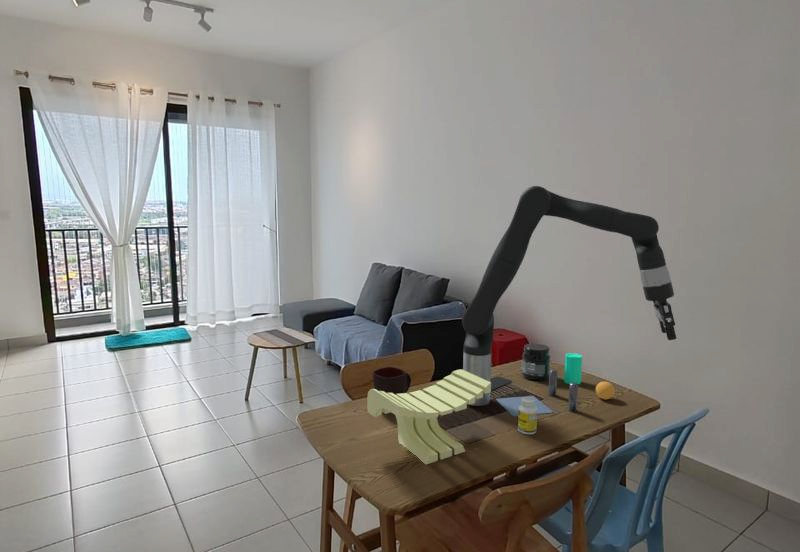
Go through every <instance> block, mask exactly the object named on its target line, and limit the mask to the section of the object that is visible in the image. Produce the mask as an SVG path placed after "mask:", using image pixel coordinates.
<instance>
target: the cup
mask: <svg viewBox="0 0 800 552" xmlns="http://www.w3.org/2000/svg"><path fill="white" fill-rule="evenodd" d="M372 383H373V389H376V390H378V391H384V392H386V393H393V394H395V395H396V394H402V393H407V394H408V391H409V389H410V387H411V383H412V378H411V375H410V374H409V373H408V372H406V370H403V369H402V368H398V367H394V366H386V367H382V368H377V369H375V370H374V371H372Z"/></svg>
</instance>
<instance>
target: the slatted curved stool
mask: <svg viewBox="0 0 800 552" xmlns="http://www.w3.org/2000/svg"><path fill="white" fill-rule="evenodd" d="M491 392H492V391H491V382H489V381H487V380H484V379H482V378H480V377H478V376H475V375H473V374H471V373H469V372H467V371H464V370H463V368H461V369H456V370H453V371H452V372H451V373H450V374H449V375H447V376H445V377H443V378H442V380H438V381H436V382H435V384H433V385H431V386H427V387H425V388H422V390H421V389H419V390H416V391H411V392H407V393H402V394H396V395H395V394H393V393H386V392H384V391H378V390H376V389H374V388H370V389H369V390H368V392H367V398H366V399H367V400H366V403H367V413H368V414H370V415H371V416H372V417H374V418H378V417H379V416H381V415H383V414H384V415H385V414H390V413H392V414H393V415H395V418H396V419H395V420H396V423H397V439H398V443H399V445H400V444H402V445H403V446H404V447H406V448H407V449H408V450H409V451H410V452H412V453H413V454H414V455H416V456H417V457H418V458H419V459H420V462H422V463H423V464H424V465H428V464H432V463H435V462H437V461H439V460H440V461H441V460H444V459H446V458H450V457H453V455H458V454H461V453H466V449H465V447H464V445H463V444H461V443H460V442H458V441H457V440H456V439H454V438H452V437H451V436H450V435H449V434H447V433H446V432H445V431H444V429H442V428H441V426H440V424H439V422H438V417H439V416H445V415H449V414H452V413H453V411H454V412H459V411H463V410H466V409H467V407H468V405H467V403H468V404H473V403H475V398H477V399H479V398H483V393H485V394H486V393H490V394H491ZM467 410H468V409H467ZM403 446H402V447H403ZM404 447H403V448H404ZM407 449H406V450H407ZM408 450H407V451H408ZM409 451H408V452H409ZM410 452H409V453H410ZM412 453H411V454H412ZM413 454H412V455H413ZM414 455H413V456H414ZM416 456H415V457H416ZM417 457H416V458H417ZM418 458H417V459H418ZM419 459H418V460H419Z"/></svg>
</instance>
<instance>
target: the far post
mask: <svg viewBox="0 0 800 552" xmlns="http://www.w3.org/2000/svg"><path fill="white" fill-rule="evenodd" d="M557 383H558V370H557V369H554V368H553V369H551V368H550V373H549V378H548V397H553V398H554V397H555V398H556V397H557V389H558V388H557V387H558V385H557Z"/></svg>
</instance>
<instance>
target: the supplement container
mask: <svg viewBox="0 0 800 552" xmlns="http://www.w3.org/2000/svg"><path fill="white" fill-rule="evenodd" d="M550 350H551V349H550V346H548V345H546V344H541V343H527V344H524V347H523V351H524V352H523V353H522V355H521V356H522V366H521V367H522V368H521V375H522V376H523V377H524V378H525V379H527V380H529V381H530V380H531V381H537V382H540V381H541V382H542V381H546V380H549V373H550V370H551V358H552V357H551V354H550Z"/></svg>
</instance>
